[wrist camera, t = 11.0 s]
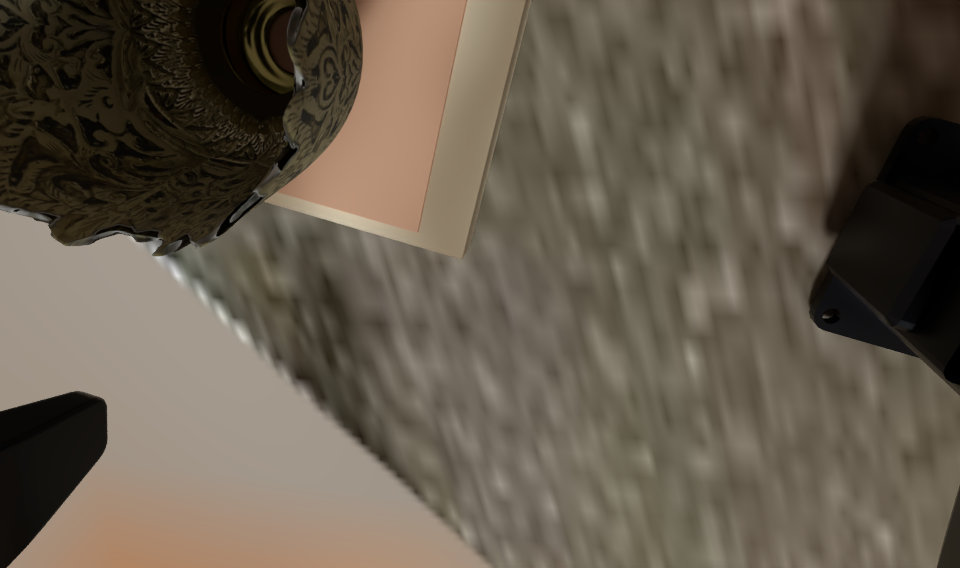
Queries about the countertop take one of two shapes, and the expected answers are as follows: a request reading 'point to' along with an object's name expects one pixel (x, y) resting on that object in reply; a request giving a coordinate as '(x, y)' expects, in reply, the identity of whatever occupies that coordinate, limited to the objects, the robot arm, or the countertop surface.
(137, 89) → the dark brown rounded vessel
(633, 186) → the countertop surface
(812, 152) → the countertop surface
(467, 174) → the cream shallow open box
